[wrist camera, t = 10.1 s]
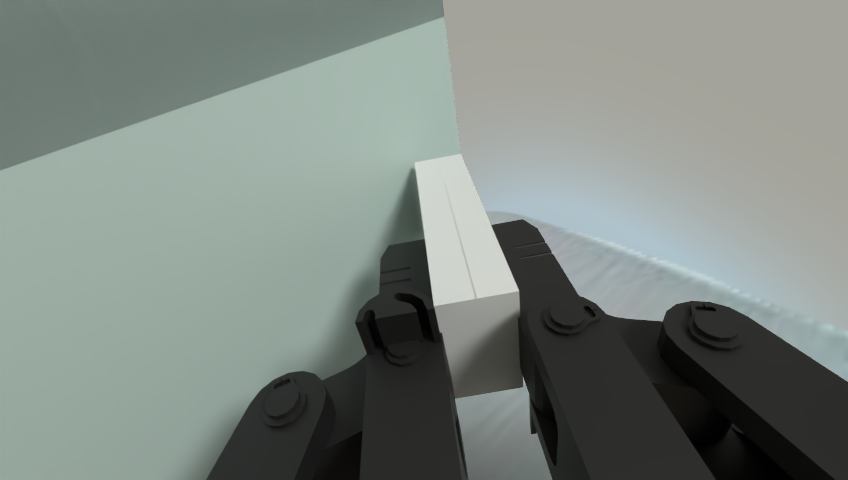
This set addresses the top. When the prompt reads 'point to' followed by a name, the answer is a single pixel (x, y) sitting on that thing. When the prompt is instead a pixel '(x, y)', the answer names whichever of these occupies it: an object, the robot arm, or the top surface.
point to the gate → (196, 212)
